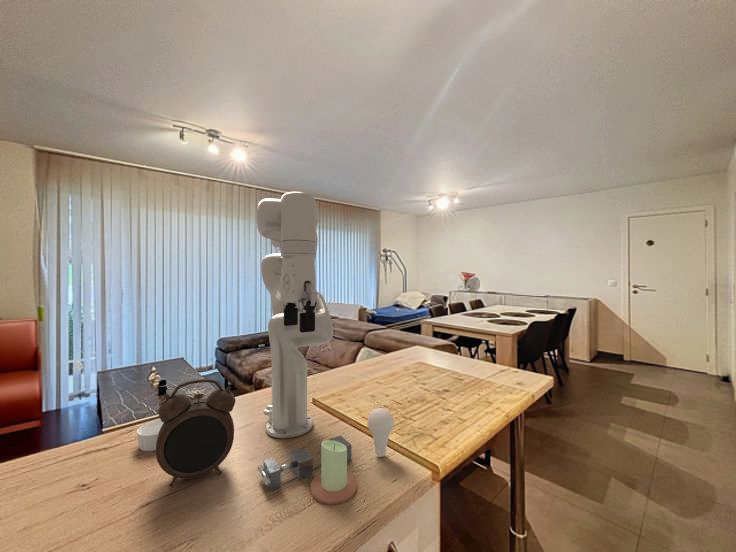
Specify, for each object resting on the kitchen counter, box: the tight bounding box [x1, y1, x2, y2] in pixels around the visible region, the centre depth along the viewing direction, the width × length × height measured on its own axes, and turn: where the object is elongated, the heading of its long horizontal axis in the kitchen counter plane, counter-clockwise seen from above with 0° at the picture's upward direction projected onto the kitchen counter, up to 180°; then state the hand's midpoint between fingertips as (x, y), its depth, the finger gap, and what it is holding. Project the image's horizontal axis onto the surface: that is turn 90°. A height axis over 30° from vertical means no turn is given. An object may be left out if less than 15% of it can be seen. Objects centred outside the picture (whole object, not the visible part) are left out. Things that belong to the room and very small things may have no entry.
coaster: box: [310, 470, 358, 505], centre depth 62 cm, size 9×9×1 cm
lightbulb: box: [367, 407, 395, 458], centre depth 72 cm, size 6×6×11 cm
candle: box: [320, 439, 348, 492], centre depth 61 cm, size 5×5×8 cm
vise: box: [257, 435, 352, 492], centre depth 68 cm, size 6×19×4 cm, turn 124°
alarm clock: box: [155, 378, 236, 488], centre depth 65 cm, size 15×7×20 cm, turn 117°
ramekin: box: [136, 418, 164, 452], centre depth 78 cm, size 9×9×4 cm
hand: (298, 328), depth 69 cm, fingers open, 9 cm apart
